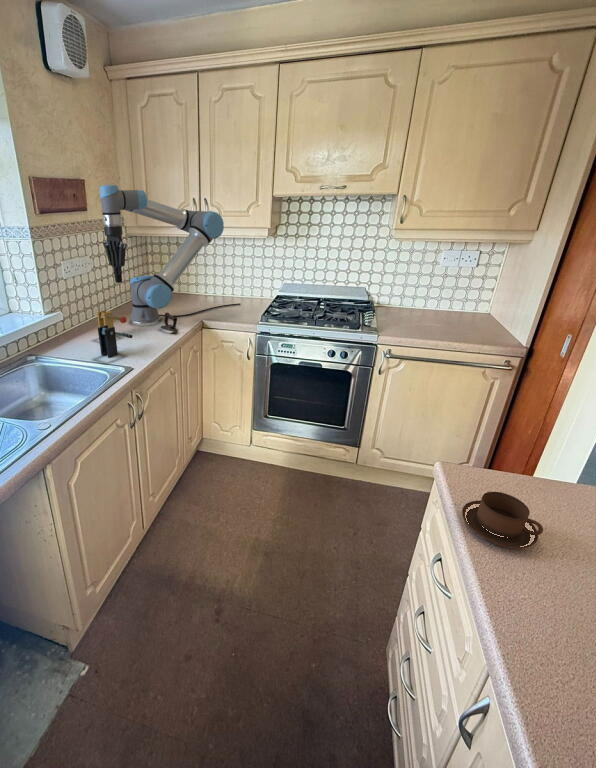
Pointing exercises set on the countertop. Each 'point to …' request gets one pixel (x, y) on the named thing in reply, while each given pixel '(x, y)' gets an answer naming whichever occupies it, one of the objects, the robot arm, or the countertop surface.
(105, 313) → the bracket brass
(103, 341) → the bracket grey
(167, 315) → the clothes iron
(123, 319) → the lever brass
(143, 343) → the countertop surface
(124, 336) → the lever grey
